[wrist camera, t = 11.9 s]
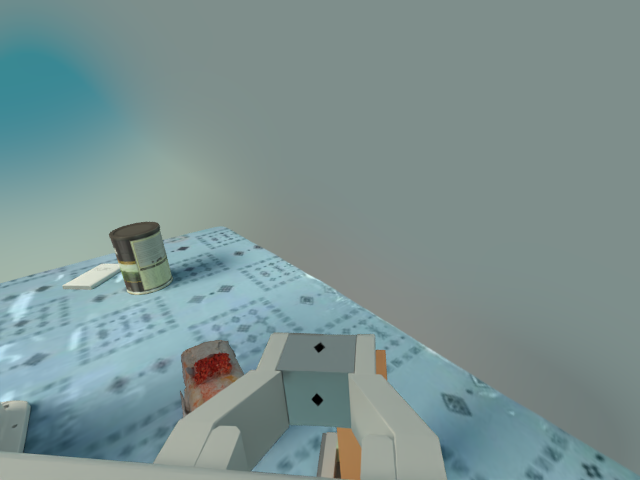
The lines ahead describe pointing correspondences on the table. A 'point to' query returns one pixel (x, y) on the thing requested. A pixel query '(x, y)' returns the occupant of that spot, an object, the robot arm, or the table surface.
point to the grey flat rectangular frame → (329, 457)
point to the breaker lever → (347, 439)
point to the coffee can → (141, 257)
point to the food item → (207, 372)
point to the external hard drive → (93, 277)
